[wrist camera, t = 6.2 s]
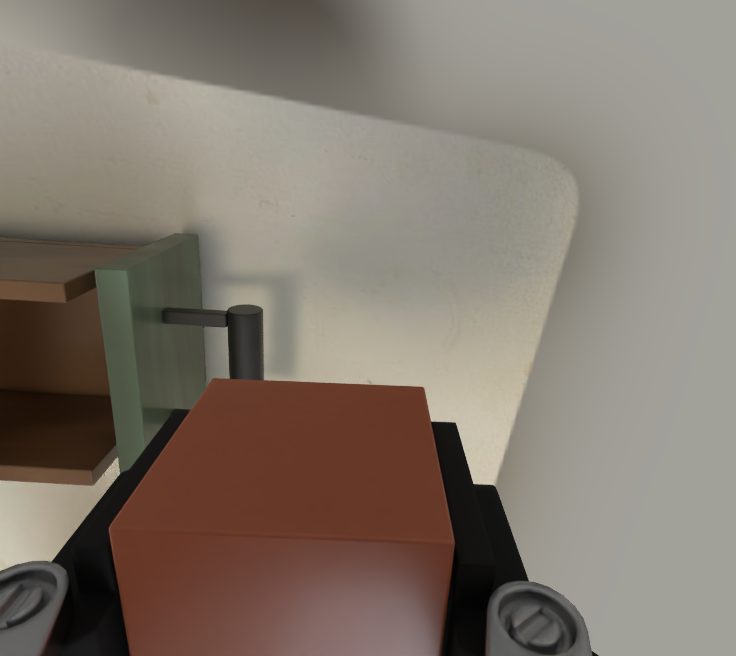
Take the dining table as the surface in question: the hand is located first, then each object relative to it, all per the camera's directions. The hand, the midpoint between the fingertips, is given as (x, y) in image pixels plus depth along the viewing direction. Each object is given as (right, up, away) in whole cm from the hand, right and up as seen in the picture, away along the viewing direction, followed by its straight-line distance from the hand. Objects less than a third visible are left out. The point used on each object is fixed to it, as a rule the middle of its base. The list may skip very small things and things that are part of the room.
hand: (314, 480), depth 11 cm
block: (0, 0, 0) cm, 0 cm away
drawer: (-13, +3, +16) cm, 21 cm away
